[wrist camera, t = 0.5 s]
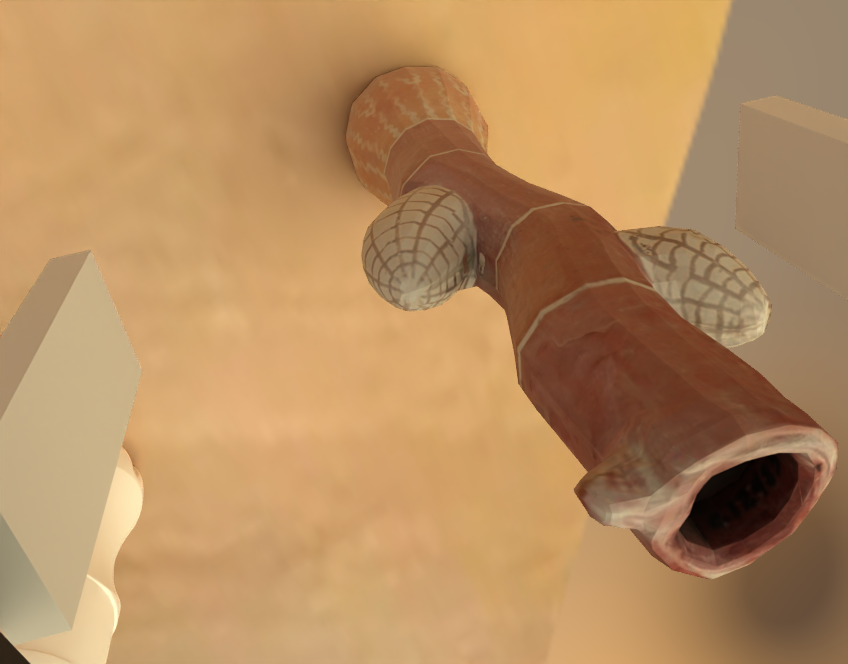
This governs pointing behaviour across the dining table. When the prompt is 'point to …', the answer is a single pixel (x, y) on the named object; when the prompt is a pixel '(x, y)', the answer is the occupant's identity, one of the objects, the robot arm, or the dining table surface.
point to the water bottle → (96, 581)
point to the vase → (596, 331)
